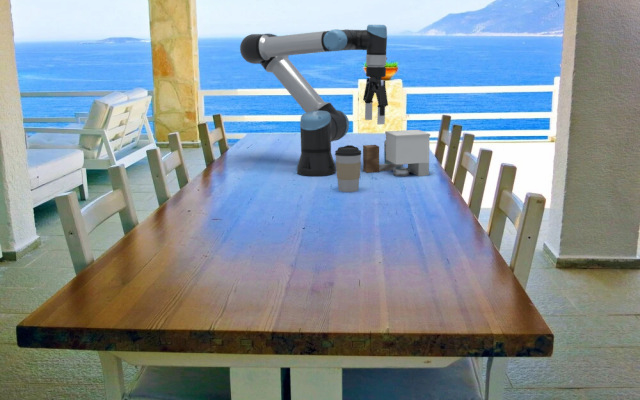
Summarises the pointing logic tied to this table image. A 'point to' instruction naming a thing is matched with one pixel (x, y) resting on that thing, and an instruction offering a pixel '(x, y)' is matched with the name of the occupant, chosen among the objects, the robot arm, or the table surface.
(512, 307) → the table surface
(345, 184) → the coffee cup
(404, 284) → the table surface
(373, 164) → the wood grain block
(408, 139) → the cabinet
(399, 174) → the silver shallow dome
